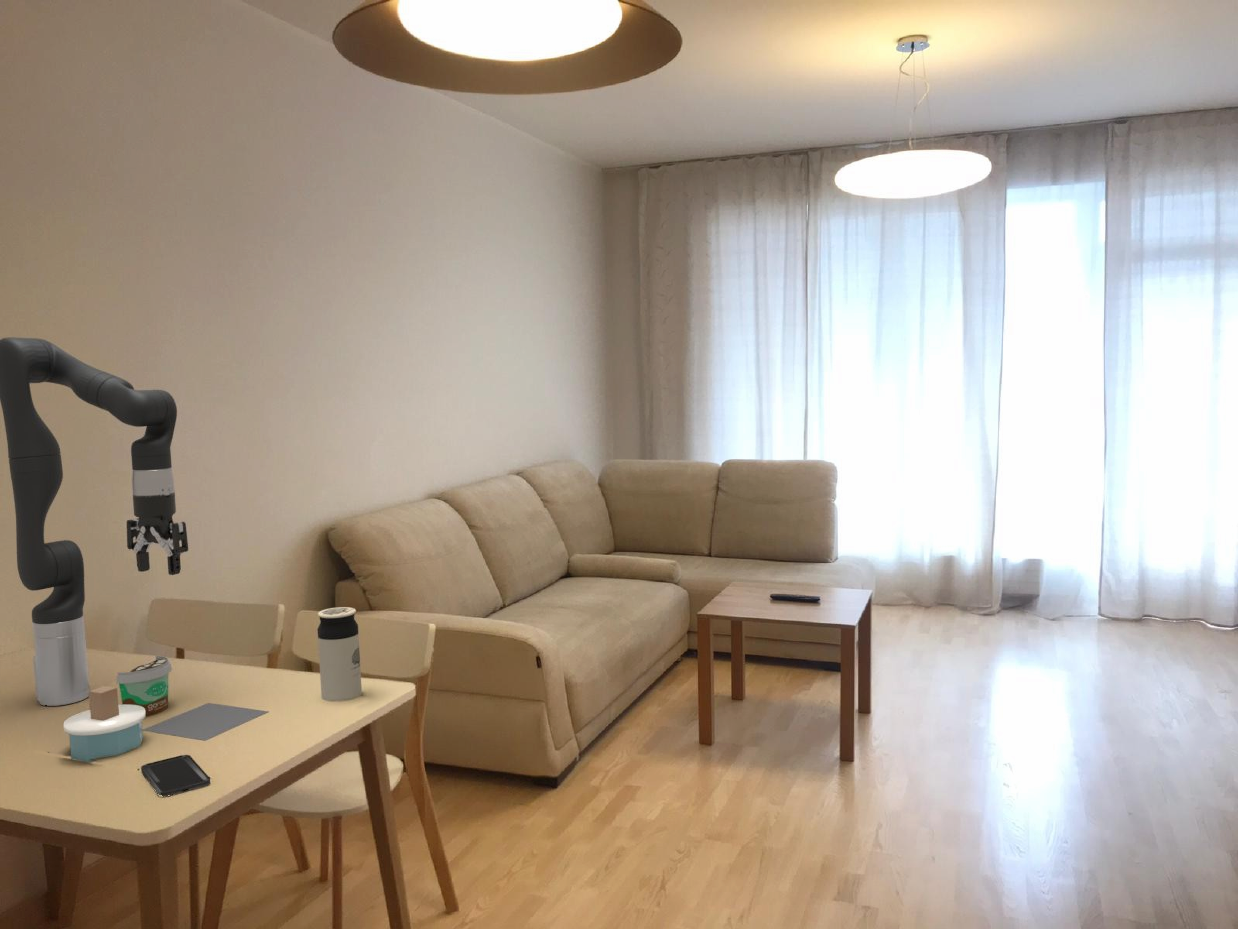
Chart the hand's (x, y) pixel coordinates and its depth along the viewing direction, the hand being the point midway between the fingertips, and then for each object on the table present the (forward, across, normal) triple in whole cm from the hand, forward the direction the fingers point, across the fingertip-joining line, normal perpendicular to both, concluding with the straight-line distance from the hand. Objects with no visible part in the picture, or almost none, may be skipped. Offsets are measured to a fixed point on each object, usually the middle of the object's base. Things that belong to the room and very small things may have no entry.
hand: (159, 572), depth 194 cm
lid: (+23, +8, -20) cm, 31 cm away
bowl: (+28, +8, -20) cm, 35 cm away
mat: (+28, +15, -4) cm, 31 cm away
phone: (+28, +30, -24) cm, 48 cm away
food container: (+28, 0, -3) cm, 28 cm away
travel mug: (+28, +29, +18) cm, 44 cm away
